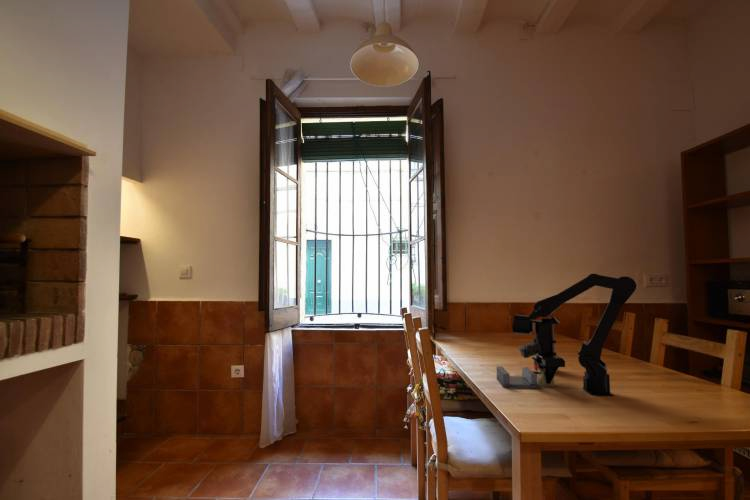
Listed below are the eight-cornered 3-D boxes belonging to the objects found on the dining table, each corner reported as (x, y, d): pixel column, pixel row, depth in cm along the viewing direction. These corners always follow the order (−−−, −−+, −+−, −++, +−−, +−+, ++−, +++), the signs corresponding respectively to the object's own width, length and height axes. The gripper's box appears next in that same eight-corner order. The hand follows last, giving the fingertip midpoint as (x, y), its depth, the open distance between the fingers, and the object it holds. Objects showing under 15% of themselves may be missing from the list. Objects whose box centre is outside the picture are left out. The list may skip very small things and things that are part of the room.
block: (549, 383, 127) (549, 368, 128) (554, 386, 123) (553, 371, 124) (538, 382, 128) (537, 368, 128) (542, 386, 124) (541, 371, 124)
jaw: (536, 376, 131) (536, 367, 131) (546, 384, 121) (546, 375, 121) (522, 375, 131) (521, 367, 131) (531, 383, 121) (530, 374, 121)
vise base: (530, 380, 131) (530, 367, 131) (540, 388, 121) (540, 374, 121) (496, 379, 132) (496, 366, 132) (503, 387, 122) (503, 373, 122)
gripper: (513, 331, 137) (514, 373, 136) (529, 340, 118) (530, 389, 117) (544, 331, 136) (545, 374, 134) (565, 341, 117) (566, 390, 116)
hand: (546, 381), depth 126 cm, fingers closed on block, 4 cm apart
